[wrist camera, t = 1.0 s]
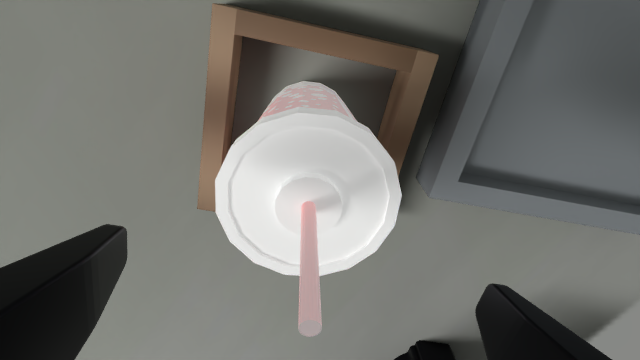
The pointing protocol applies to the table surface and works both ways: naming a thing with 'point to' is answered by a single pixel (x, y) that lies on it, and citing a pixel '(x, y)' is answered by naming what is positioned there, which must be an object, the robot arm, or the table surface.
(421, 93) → the square frame
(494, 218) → the table surface
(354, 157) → the beverage cup
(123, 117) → the table surface
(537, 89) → the tray
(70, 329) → the robot arm
